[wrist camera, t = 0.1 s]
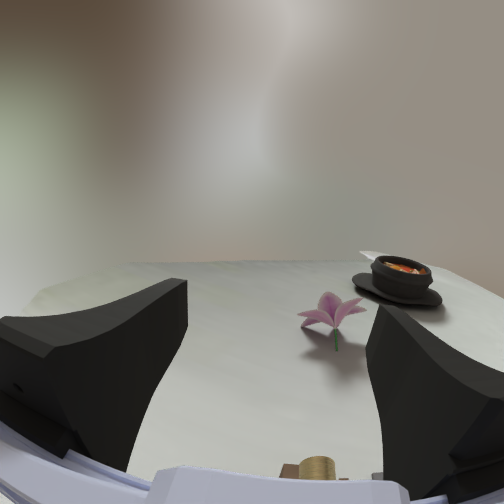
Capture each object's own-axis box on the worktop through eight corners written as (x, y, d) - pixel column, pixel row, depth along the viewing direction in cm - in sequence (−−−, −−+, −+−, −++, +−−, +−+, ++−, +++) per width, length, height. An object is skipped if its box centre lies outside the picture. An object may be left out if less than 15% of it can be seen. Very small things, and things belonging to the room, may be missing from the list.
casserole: (438, 294, 74) (445, 266, 72) (442, 321, 58) (453, 286, 56) (357, 274, 85) (363, 246, 83) (343, 295, 69) (350, 261, 67)
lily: (368, 341, 52) (364, 290, 54) (372, 351, 41) (366, 286, 43) (305, 348, 55) (300, 298, 57) (292, 358, 44) (287, 296, 46)
